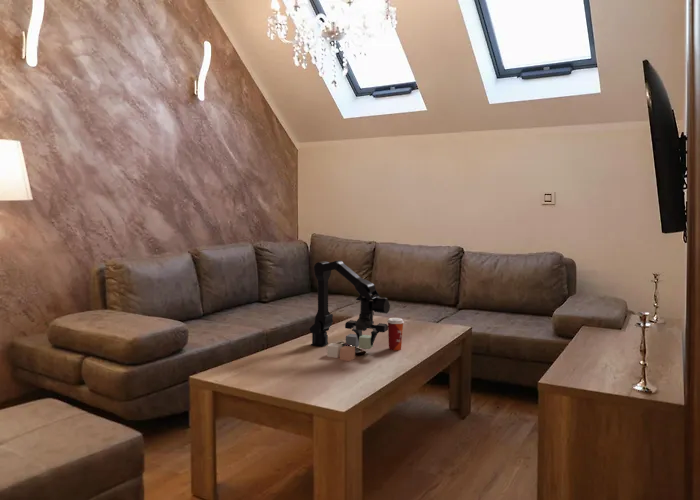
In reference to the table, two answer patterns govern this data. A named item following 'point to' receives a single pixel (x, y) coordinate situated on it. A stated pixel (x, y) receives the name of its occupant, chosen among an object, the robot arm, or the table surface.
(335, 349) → the cream cube
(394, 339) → the paper cup
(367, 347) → the sage cube
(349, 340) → the charcoal cube
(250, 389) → the table surface
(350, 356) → the terracotta cube
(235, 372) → the table surface
